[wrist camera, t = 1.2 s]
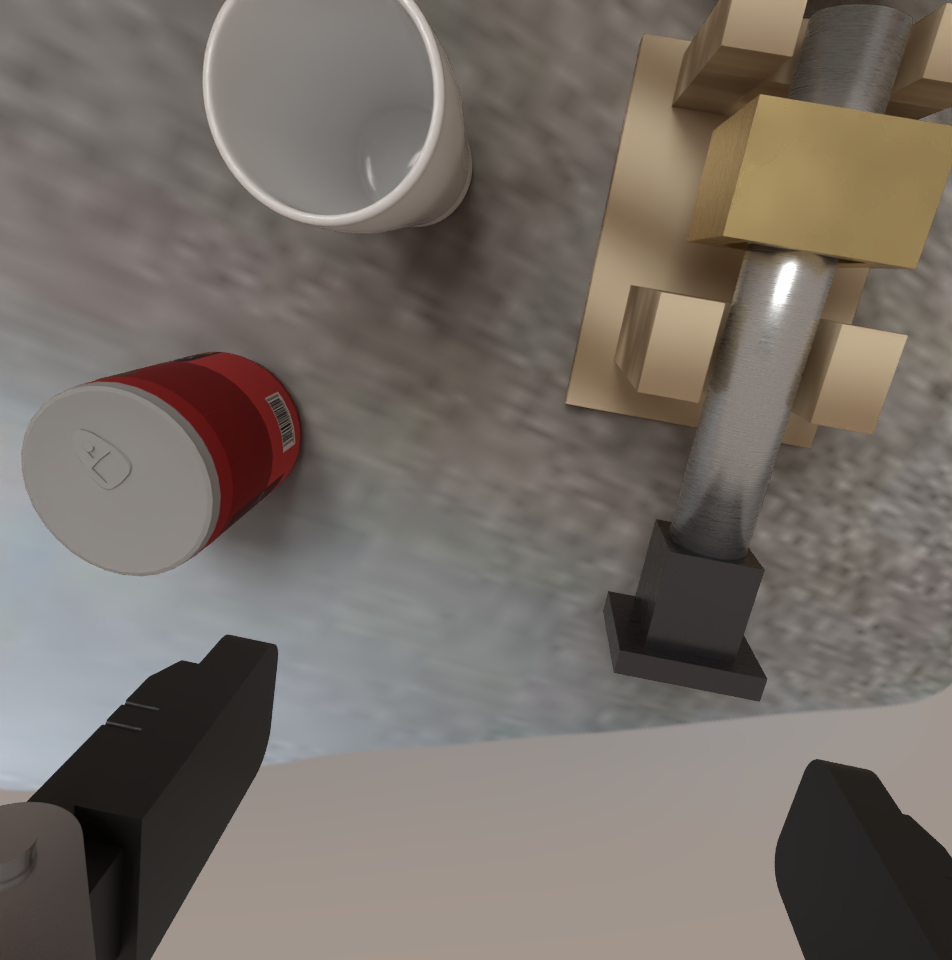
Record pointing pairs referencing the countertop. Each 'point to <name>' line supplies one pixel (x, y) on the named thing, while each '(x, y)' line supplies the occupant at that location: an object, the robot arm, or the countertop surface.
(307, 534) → the countertop surface
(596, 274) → the block
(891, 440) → the countertop surface
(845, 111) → the block
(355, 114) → the drinking glass
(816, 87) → the shaft
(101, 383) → the canned food
